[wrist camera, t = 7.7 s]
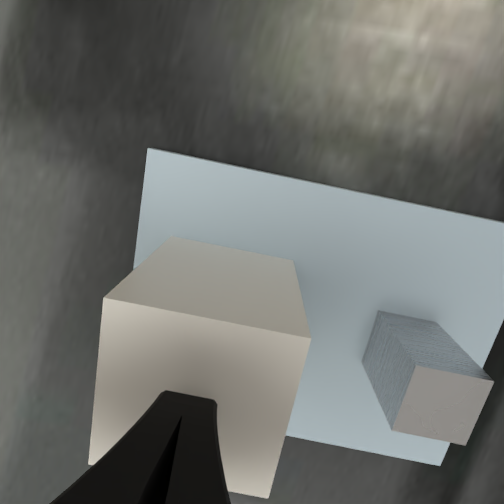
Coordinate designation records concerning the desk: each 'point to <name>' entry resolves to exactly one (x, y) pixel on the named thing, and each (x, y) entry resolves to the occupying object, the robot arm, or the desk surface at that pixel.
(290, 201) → the post board
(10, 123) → the desk surface
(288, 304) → the cream rectangular block
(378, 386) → the steel post
